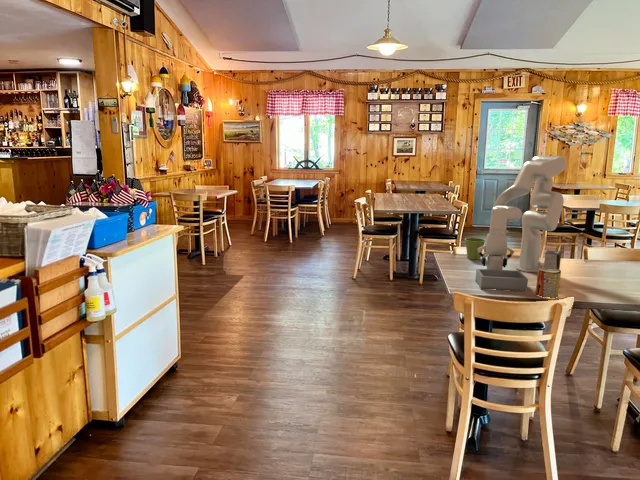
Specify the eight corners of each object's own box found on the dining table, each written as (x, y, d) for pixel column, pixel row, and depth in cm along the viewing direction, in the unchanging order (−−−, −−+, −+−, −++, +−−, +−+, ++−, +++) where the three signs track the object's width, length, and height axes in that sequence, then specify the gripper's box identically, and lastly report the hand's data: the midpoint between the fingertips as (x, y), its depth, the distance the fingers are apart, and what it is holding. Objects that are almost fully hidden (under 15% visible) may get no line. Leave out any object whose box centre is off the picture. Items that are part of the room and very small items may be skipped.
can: (494, 280, 229) (496, 256, 226) (482, 276, 235) (484, 253, 233) (505, 278, 232) (507, 255, 230) (493, 275, 238) (495, 252, 236)
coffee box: (556, 288, 217) (560, 254, 214) (541, 286, 220) (544, 252, 217) (558, 283, 224) (562, 251, 221) (543, 281, 228) (547, 249, 225)
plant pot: (485, 257, 276) (486, 238, 273) (483, 261, 265) (484, 242, 263) (464, 255, 280) (465, 236, 278) (461, 259, 270) (463, 240, 267)
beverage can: (530, 293, 209) (533, 267, 207) (548, 292, 211) (551, 266, 209) (544, 300, 201) (547, 273, 198) (562, 298, 203) (565, 272, 200)
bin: (518, 282, 225) (519, 270, 224) (526, 291, 212) (527, 279, 211) (475, 280, 228) (476, 268, 227) (480, 289, 215) (481, 276, 213)
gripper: (513, 231, 231) (510, 265, 234) (477, 230, 234) (474, 263, 237) (518, 234, 224) (514, 269, 227) (480, 232, 226) (477, 266, 229)
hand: (493, 266), depth 232 cm, fingers open, 9 cm apart
